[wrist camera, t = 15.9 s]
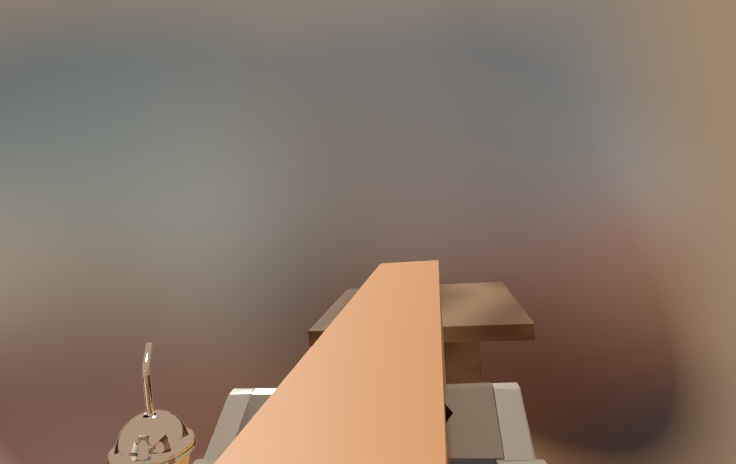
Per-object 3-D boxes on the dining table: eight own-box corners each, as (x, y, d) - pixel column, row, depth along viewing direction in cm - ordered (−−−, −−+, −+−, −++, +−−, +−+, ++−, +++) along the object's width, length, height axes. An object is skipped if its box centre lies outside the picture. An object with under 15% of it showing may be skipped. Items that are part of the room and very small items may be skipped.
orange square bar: (198, 770, 5) (169, 517, 5) (385, 319, 25) (380, 263, 25) (467, 798, 5) (448, 522, 5) (442, 317, 25) (438, 260, 24)
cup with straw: (97, 571, 46) (74, 371, 45) (151, 510, 55) (133, 342, 54) (179, 573, 45) (158, 368, 44) (220, 511, 54) (204, 339, 53)
